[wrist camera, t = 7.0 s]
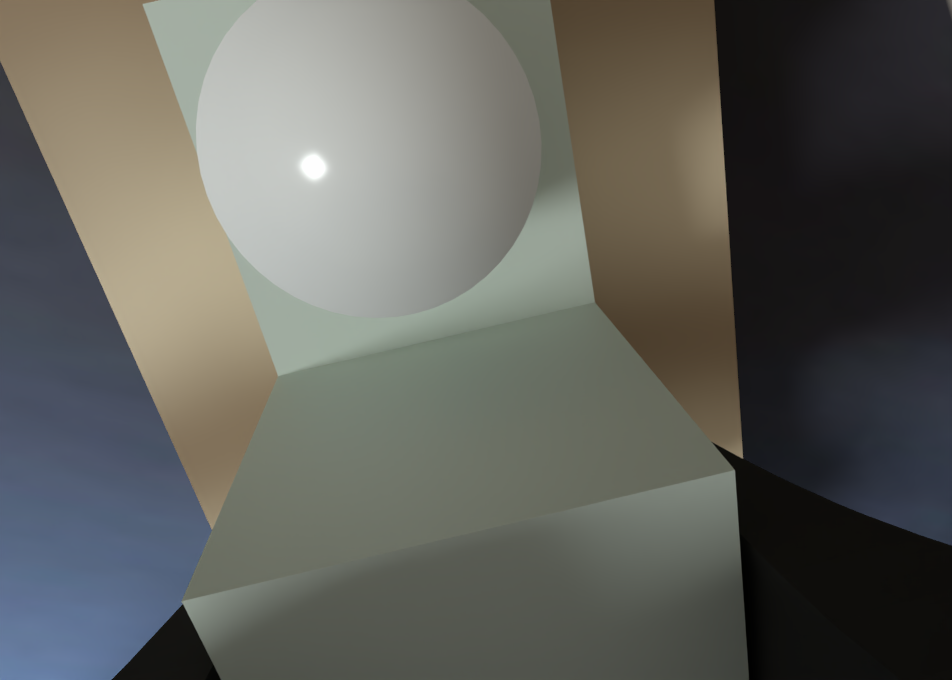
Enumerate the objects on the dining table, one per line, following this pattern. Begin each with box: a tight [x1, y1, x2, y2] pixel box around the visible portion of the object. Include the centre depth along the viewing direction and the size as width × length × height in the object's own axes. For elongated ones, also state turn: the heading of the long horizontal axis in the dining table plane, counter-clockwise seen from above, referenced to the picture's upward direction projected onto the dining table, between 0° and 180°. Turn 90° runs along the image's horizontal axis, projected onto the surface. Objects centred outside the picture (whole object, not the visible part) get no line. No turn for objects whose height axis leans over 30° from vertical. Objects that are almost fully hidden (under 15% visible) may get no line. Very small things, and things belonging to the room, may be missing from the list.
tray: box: [143, 0, 749, 680], centre depth 9 cm, size 15×5×6 cm, turn 12°
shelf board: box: [0, 0, 743, 529], centre depth 14 cm, size 18×11×2 cm, turn 12°
